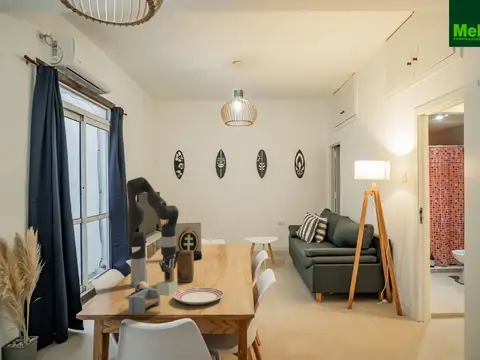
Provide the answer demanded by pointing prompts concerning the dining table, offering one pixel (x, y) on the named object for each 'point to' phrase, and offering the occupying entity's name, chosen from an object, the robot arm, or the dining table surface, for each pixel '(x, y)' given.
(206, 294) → the dinner plate
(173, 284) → the green and brown blocks
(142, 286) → the skull
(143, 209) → the robot arm
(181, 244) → the decorative plaque
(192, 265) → the block
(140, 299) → the board
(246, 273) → the dining table surface
